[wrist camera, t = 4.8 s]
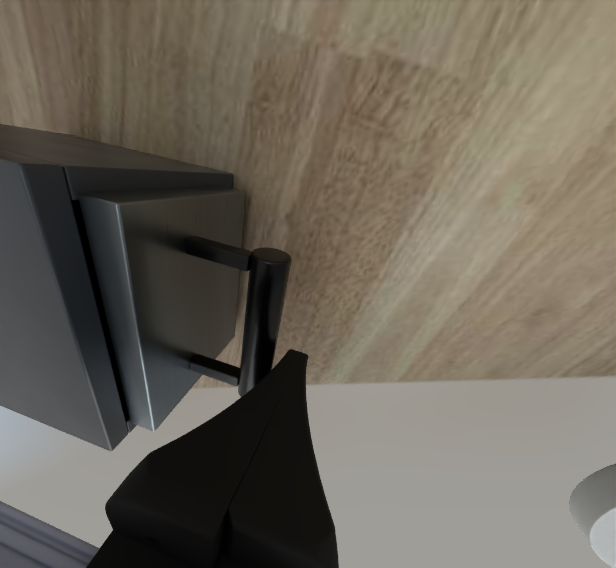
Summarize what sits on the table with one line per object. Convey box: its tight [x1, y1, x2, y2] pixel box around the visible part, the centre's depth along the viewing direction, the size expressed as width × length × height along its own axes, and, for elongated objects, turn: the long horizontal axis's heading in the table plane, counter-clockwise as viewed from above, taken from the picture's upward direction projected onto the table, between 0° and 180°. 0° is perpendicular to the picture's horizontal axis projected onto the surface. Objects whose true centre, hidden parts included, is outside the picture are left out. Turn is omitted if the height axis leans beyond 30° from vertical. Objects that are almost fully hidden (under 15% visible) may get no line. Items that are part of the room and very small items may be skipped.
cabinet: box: [0, 124, 233, 451], centre depth 11 cm, size 11×11×9 cm
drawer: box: [71, 187, 291, 431], centre depth 11 cm, size 13×9×7 cm
